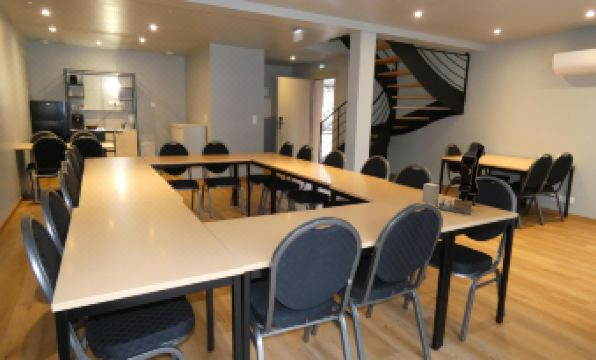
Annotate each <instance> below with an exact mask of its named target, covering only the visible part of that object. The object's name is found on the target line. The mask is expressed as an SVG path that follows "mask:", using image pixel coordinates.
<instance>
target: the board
mask: <svg viewBox="0 0 596 360" xmlns="http://www.w3.org/2000/svg"><path fill="white" fill-rule="evenodd" d="M445 200H446V199H445V198H444V197H443V198H441V200H440V201H439V202H438V209H440V210H439V211H442V212H443V211H445V212H451V213H455V214H462V215H463V214H464V215H469V216H471V212H472V210H471V211H467V210H461V209H454V204H452V203H453V199H447V202H445Z"/></svg>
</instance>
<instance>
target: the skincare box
mask: <svg viewBox="0 0 596 360" xmlns="http://www.w3.org/2000/svg"><path fill="white" fill-rule="evenodd" d="M439 192H440V184H437V183H430V182H427V183H423V188H422V200H421V201H422V202H425V203H431V204H433V205H435V206H436V207H438V208H439V197H440V193H439Z"/></svg>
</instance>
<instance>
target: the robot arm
mask: <svg viewBox="0 0 596 360" xmlns="http://www.w3.org/2000/svg"><path fill="white" fill-rule="evenodd" d="M469 145H470V146H469V149H468V151H467V152H464V154H463V155H462V157H461V160H460V163H459V166H461V167H460V169H458V174H459V175H460V177H458V178H452V179H451V180H450V183H451V186H455V185H458V184H459V185H458V191H459V192H460V196H461V200H462V201H464V200H465V201H472V206H475V204H476V202H475V201H476V200H475V199H476V197H479V195H480V189H479V183H478V182H477V176H478V169H479V163H480V159H481V158H482V157H483V155H484V153H485V150H486V149H485V147H486V146H485V145H483V144H482V143H480V142H476V141H475V142H474V141H473V142H471V144H469Z"/></svg>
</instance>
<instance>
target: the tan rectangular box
mask: <svg viewBox="0 0 596 360" xmlns="http://www.w3.org/2000/svg"><path fill="white" fill-rule="evenodd" d="M453 205H454V209H461V210H467V211H471V212H472V207H473V205H472V201H465V200H464V201H462V199H457V198H455V199H454V201H453Z"/></svg>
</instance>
